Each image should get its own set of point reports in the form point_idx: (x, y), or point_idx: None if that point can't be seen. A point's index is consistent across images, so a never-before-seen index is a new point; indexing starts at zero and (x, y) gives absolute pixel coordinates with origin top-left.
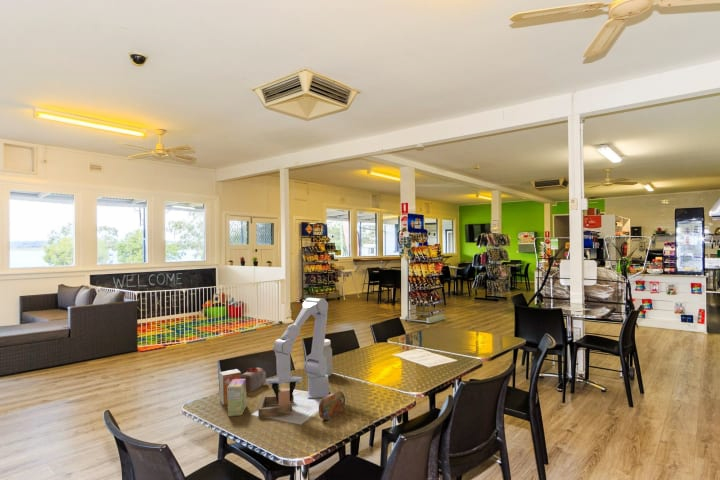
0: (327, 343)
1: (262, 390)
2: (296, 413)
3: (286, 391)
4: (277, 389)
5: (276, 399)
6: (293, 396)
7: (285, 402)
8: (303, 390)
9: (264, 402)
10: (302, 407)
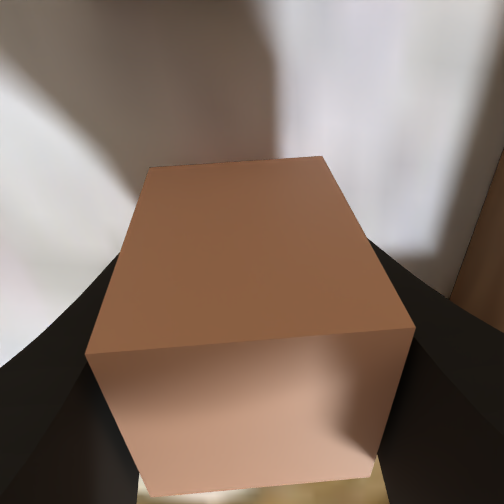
0: None
1: None
2: (23, 25)
3: (178, 365)
4: (488, 406)
5: None
6: None
7: (215, 192)
8: (148, 493)
9: (496, 297)
10: (23, 229)
